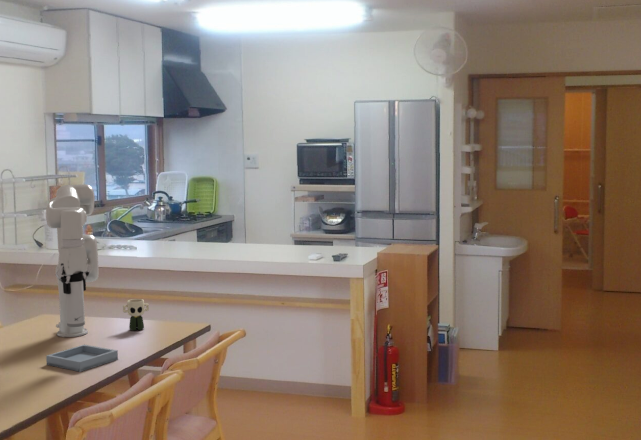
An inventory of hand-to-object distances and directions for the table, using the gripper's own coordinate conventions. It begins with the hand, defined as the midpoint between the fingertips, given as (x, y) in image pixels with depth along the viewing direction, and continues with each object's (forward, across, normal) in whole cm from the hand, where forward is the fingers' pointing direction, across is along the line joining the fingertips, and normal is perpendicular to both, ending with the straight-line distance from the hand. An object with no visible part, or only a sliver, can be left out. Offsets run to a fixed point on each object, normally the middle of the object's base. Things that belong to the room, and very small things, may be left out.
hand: (74, 291), depth 283 cm
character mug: (+28, -48, -19) cm, 59 cm away
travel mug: (+13, 0, 0) cm, 13 cm away
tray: (+27, -2, 0) cm, 27 cm away
